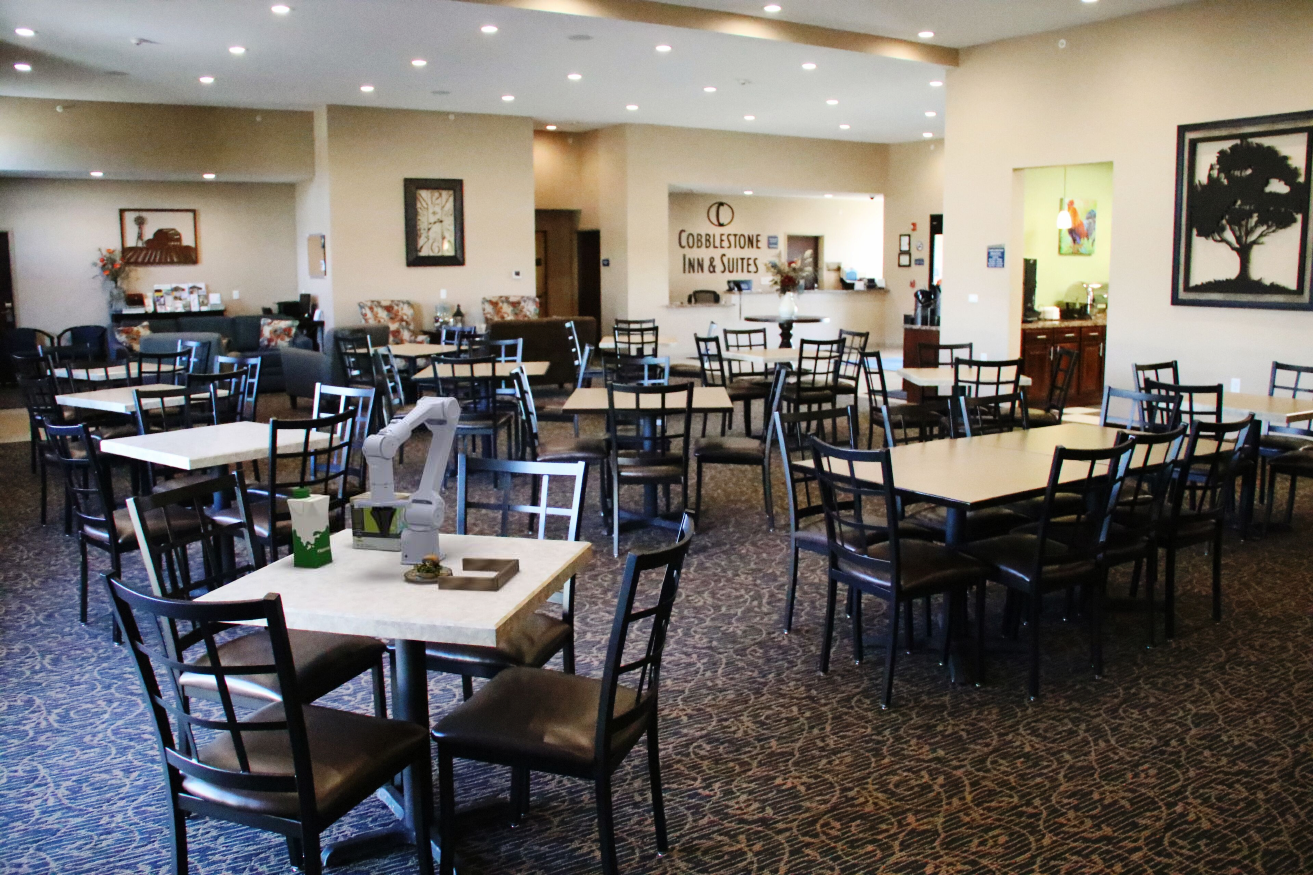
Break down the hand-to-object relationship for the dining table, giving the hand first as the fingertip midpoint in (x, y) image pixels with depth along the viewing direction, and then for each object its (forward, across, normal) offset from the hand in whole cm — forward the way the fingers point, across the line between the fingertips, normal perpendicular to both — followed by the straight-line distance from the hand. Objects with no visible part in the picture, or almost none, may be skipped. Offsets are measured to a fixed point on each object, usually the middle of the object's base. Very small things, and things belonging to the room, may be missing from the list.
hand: (385, 536), depth 258 cm
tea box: (+11, -14, +29) cm, 34 cm away
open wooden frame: (+10, +24, 0) cm, 26 cm away
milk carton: (+11, -25, +9) cm, 29 cm away
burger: (+11, +11, 0) cm, 15 cm away
